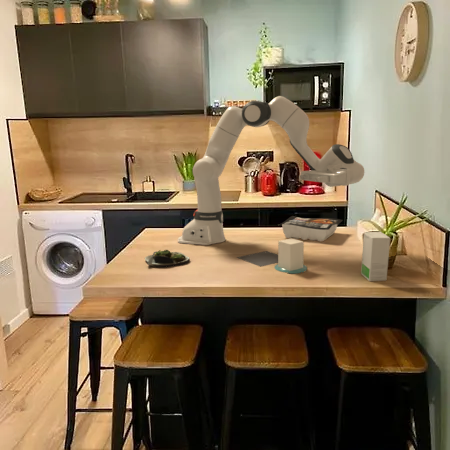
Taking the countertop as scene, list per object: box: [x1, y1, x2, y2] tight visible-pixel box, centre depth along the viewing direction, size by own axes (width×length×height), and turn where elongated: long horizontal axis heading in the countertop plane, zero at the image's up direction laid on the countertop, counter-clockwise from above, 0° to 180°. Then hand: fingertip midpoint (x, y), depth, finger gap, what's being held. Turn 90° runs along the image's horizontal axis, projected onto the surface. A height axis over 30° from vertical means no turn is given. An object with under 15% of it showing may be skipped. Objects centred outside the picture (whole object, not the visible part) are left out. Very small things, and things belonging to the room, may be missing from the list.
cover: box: [277, 237, 305, 271], centre depth 176 cm, size 7×7×10 cm
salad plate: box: [144, 249, 190, 269], centre depth 191 cm, size 19×18×5 cm
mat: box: [235, 250, 278, 267], centre depth 190 cm, size 16×16×1 cm
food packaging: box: [278, 215, 344, 242], centre depth 227 cm, size 25×8×23 cm
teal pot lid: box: [274, 263, 308, 275], centre depth 177 cm, size 12×12×4 cm
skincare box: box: [360, 231, 391, 282], centre depth 164 cm, size 8×7×16 cm
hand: (308, 178), depth 186 cm, fingers open, 8 cm apart
